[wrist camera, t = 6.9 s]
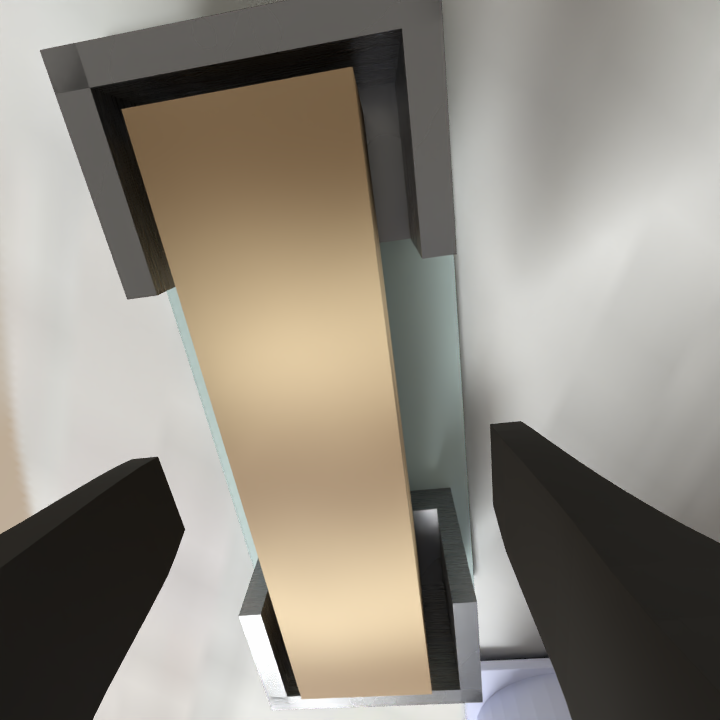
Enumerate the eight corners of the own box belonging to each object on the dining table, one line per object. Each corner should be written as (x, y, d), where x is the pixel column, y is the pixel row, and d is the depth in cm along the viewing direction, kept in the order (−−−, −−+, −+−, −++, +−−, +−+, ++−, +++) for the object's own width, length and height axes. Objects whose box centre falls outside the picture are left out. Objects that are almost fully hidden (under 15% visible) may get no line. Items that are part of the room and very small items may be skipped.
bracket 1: (170, 103, 11) (39, 49, 7) (416, 58, 10) (439, -31, 6) (212, 262, 12) (127, 299, 8) (429, 231, 12) (456, 253, 7)
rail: (419, 567, 15) (432, 694, 11) (321, 574, 15) (301, 699, 11) (363, 113, 10) (352, 66, 6) (217, 138, 10) (120, 108, 6)
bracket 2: (457, 572, 16) (483, 702, 12) (298, 583, 17) (271, 710, 13) (450, 487, 15) (477, 601, 11) (276, 502, 15) (238, 616, 11)
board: (471, 581, 17) (474, 594, 16) (269, 594, 18) (266, 607, 17) (434, 2, 10) (437, -9, 10) (108, 65, 11) (93, 59, 10)
